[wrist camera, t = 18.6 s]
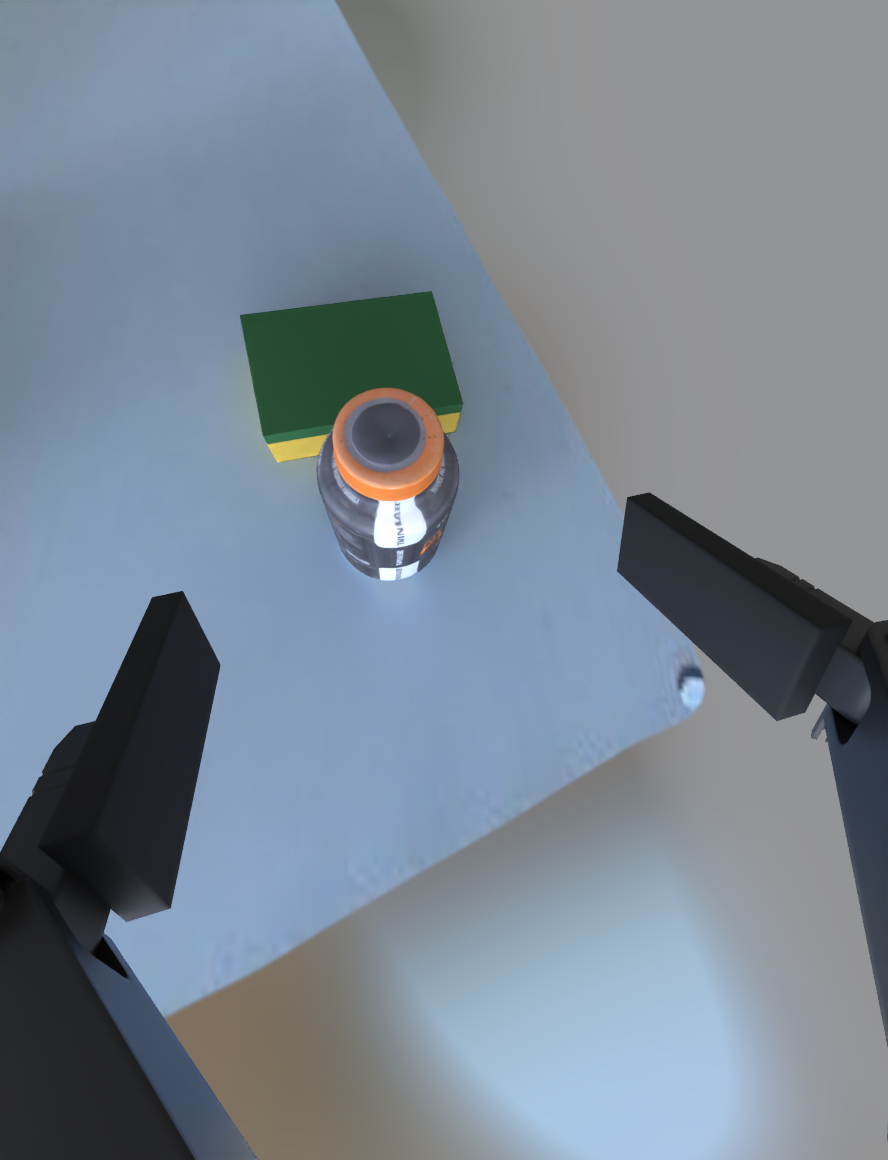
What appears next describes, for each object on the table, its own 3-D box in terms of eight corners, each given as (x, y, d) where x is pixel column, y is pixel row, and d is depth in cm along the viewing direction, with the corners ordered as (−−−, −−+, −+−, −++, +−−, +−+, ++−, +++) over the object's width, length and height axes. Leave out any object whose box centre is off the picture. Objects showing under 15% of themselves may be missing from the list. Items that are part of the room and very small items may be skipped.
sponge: (276, 463, 28) (262, 436, 25) (255, 352, 29) (239, 314, 26) (455, 431, 29) (463, 403, 26) (428, 328, 31) (431, 290, 28)
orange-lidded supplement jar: (433, 588, 27) (462, 526, 16) (330, 575, 27) (286, 502, 16) (444, 492, 28) (478, 374, 17) (346, 478, 28) (316, 347, 17)
